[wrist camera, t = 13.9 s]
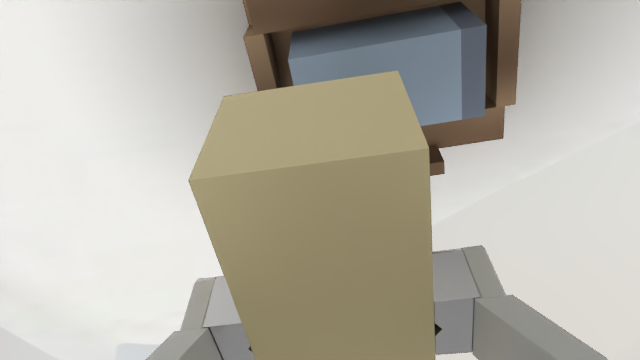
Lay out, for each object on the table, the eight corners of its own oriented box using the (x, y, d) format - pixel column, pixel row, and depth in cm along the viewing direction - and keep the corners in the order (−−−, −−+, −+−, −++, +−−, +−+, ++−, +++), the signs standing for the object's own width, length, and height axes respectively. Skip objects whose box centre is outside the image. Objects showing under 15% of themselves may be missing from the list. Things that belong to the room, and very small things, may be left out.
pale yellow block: (223, 96, 11) (188, 180, 8) (397, 70, 10) (429, 148, 7) (295, 343, 16) (289, 452, 13) (415, 331, 15) (437, 439, 12)
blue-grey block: (292, 31, 22) (288, 59, 19) (460, 1, 22) (486, 25, 18) (308, 107, 25) (306, 144, 21) (461, 82, 24) (485, 115, 20)
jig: (238, -29, 22) (222, -10, 18) (501, -82, 20) (541, -72, 17) (284, 154, 27) (279, 198, 23) (495, 121, 26) (524, 161, 22)
